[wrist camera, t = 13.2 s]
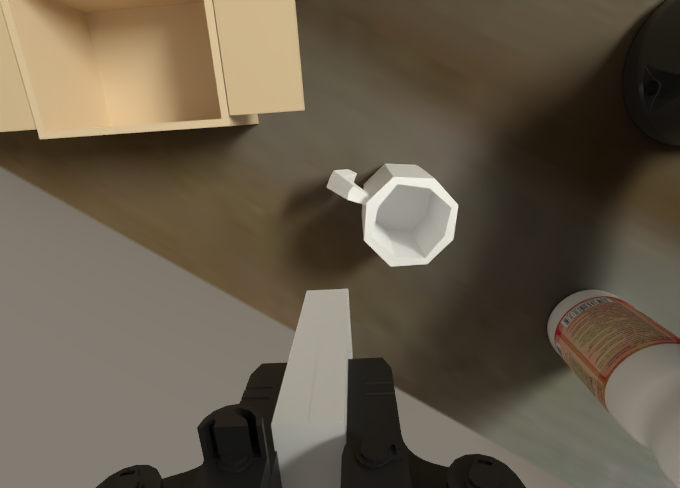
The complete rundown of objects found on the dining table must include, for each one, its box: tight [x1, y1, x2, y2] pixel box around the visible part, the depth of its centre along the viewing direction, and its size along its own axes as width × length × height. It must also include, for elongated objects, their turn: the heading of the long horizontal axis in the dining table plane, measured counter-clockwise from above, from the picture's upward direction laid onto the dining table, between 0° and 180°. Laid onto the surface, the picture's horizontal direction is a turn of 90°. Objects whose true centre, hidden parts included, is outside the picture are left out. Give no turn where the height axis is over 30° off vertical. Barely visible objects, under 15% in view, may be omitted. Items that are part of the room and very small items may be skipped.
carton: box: [0, 0, 305, 139], centre depth 36 cm, size 28×12×10 cm, turn 94°
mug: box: [326, 164, 458, 267], centre depth 39 cm, size 12×9×10 cm
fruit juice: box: [547, 290, 680, 488], centre depth 34 cm, size 9×9×28 cm
